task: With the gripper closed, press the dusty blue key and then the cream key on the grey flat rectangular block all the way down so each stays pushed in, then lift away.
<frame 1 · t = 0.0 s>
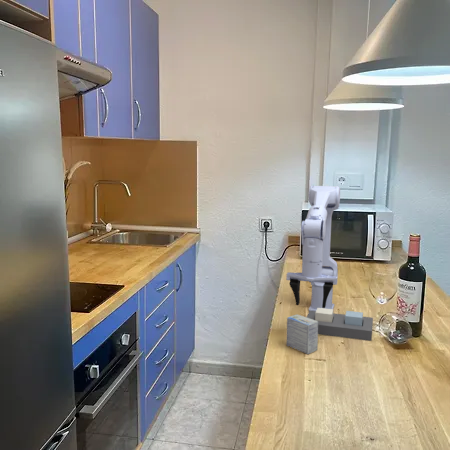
hand: (310, 305, 137), 10 cm above the worktop, tool pointing down, fingers open, 7 cm apart
cream key: (324, 315, 147), point 4 cm above the worktop, slide at 0.0 cm
blue key: (353, 318, 144), point 4 cm above the worktop, slide at 0.0 cm
grey flat rectangular block: (338, 329, 146), on the worktop
medicine box: (301, 349, 132), on the worktop
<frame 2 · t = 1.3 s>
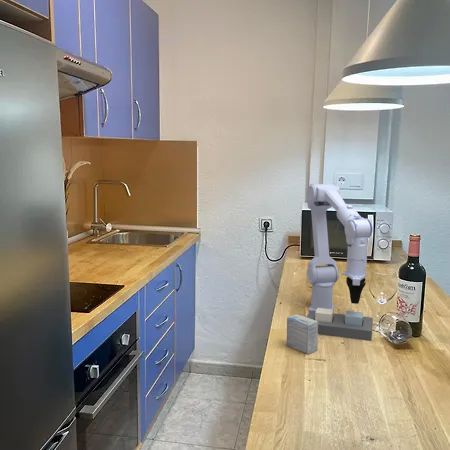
hand: (354, 302, 143), 9 cm above the worktop, tool pointing down, fingers closed
nothing on the worktop moved.
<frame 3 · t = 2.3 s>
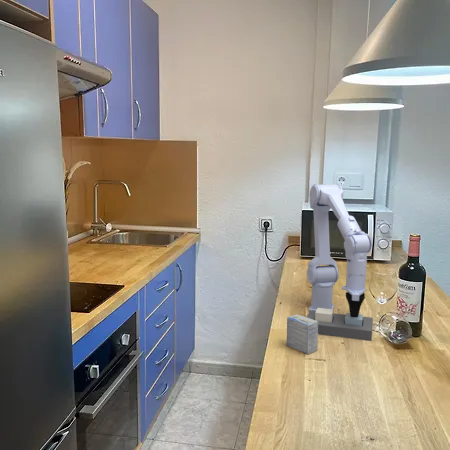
hand: (354, 316, 144), 5 cm above the worktop, tool pointing down, fingers closed, pressing on blue key
blue key: (353, 321, 144), point 3 cm above the worktop, slide at 0.7 cm, touching gripper
everything else where it was.
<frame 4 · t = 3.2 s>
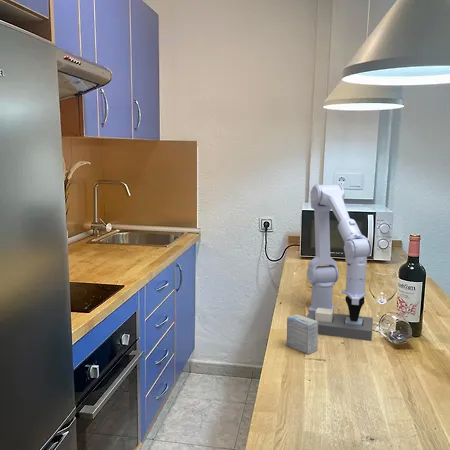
hand: (353, 320, 144), 4 cm above the worktop, tool pointing down, fingers closed
blue key: (353, 325, 144), point 2 cm above the worktop, slide at 2.0 cm
everything else where it was.
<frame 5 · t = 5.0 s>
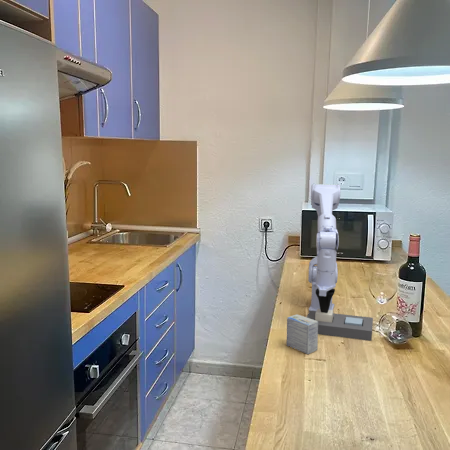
hand: (324, 312, 146), 5 cm above the worktop, tool pointing down, fingers closed, pressing on cream key
cream key: (324, 316, 147), point 4 cm above the worktop, slide at 0.3 cm, touching gripper
everything else where it was.
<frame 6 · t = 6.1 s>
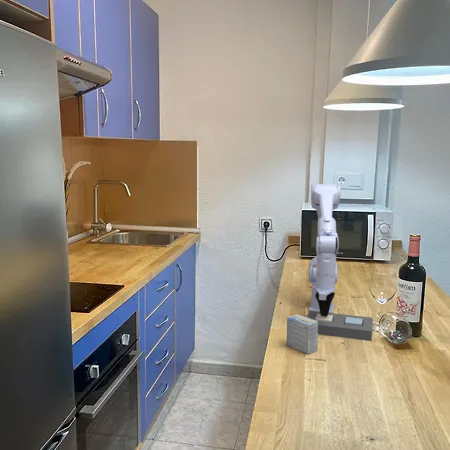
hand: (324, 315, 147), 4 cm above the worktop, tool pointing down, fingers closed
cream key: (324, 321, 147), point 2 cm above the worktop, slide at 2.0 cm
everything else where it was.
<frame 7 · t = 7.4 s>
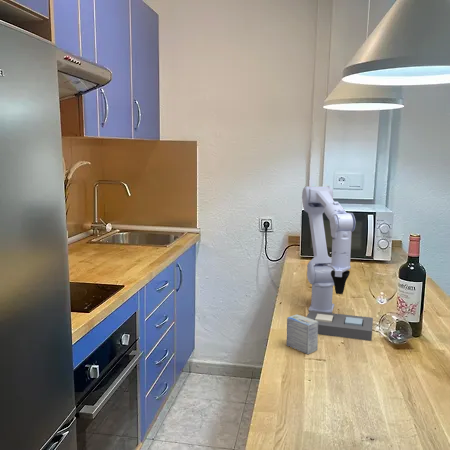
hand: (339, 293, 148), 10 cm above the worktop, tool pointing down, fingers closed
nothing on the worktop moved.
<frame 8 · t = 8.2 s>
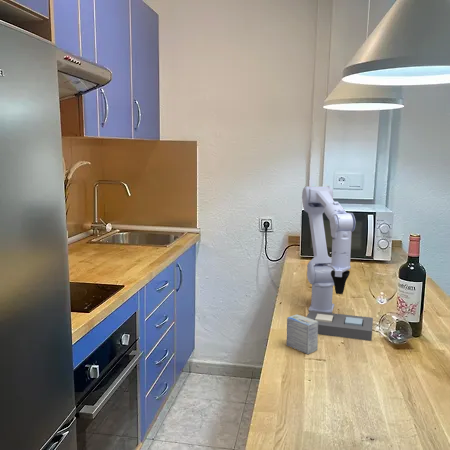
hand: (339, 293, 148), 10 cm above the worktop, tool pointing down, fingers closed
nothing on the worktop moved.
at the end: blue key slide at 2.0 cm; cream key slide at 2.0 cm; medicine box moved 0.3 cm from its start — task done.
